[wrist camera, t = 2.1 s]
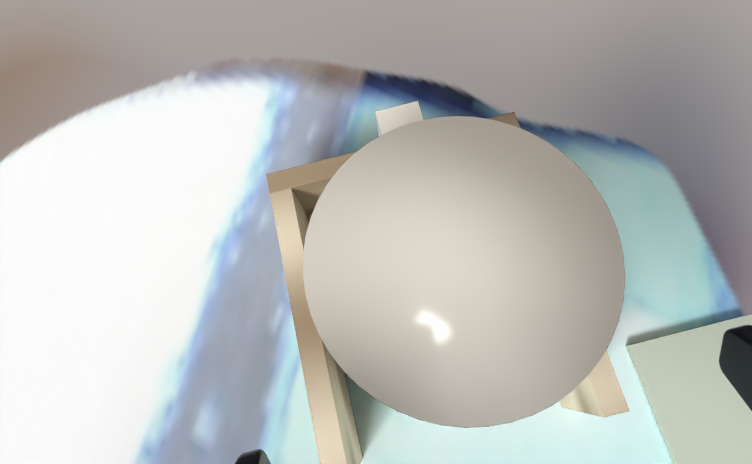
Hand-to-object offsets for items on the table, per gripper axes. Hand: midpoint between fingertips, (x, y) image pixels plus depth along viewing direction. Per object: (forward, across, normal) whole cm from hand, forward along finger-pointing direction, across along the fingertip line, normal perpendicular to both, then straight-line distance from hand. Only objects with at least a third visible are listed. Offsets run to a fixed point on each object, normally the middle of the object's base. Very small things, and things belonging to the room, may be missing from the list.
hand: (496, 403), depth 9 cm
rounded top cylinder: (+9, 0, +5) cm, 10 cm away
